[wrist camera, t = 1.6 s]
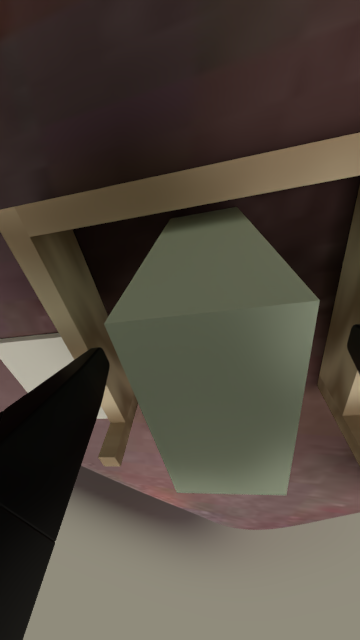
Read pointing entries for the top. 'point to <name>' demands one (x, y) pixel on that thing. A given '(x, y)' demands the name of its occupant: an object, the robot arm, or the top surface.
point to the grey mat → (36, 359)
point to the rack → (166, 195)
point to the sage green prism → (217, 353)
